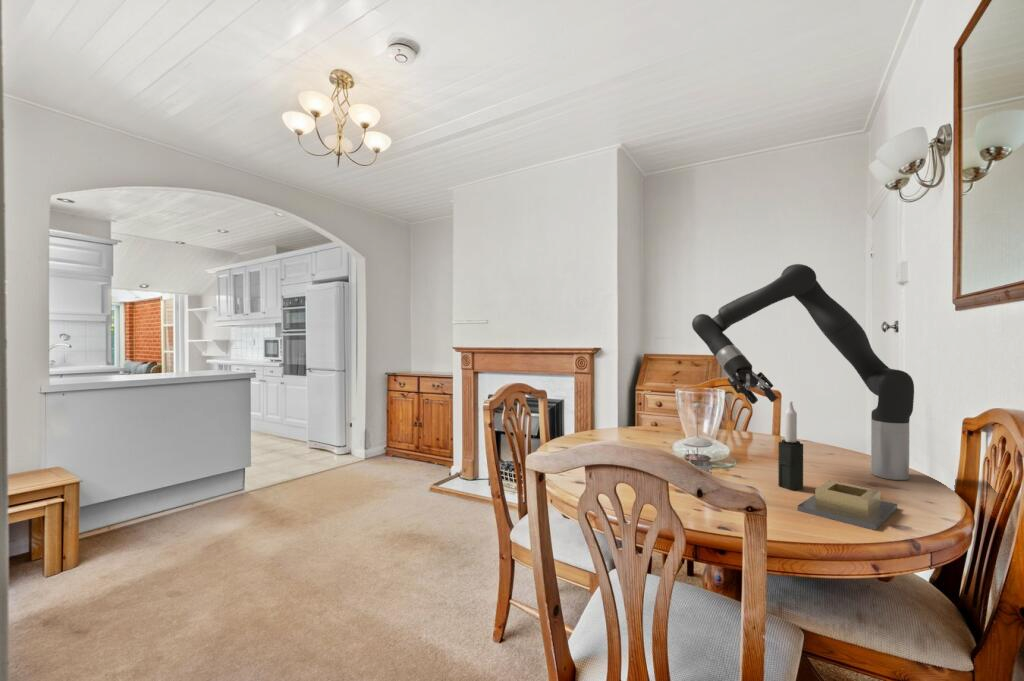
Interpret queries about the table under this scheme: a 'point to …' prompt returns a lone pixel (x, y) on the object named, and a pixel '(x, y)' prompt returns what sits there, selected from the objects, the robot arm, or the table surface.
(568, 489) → the table surface
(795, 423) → the candle
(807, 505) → the candle plate
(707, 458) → the french press
